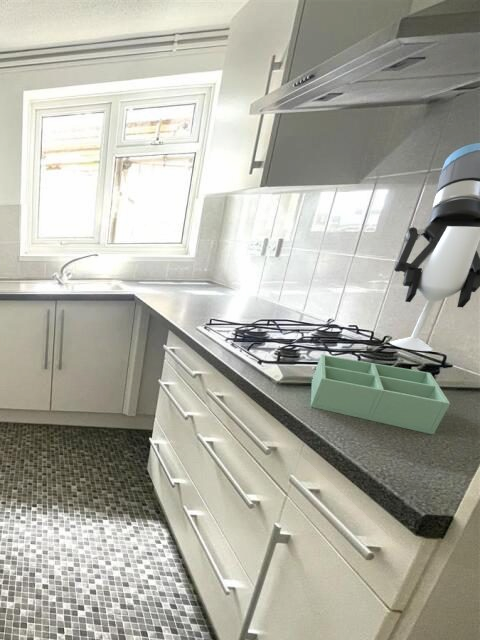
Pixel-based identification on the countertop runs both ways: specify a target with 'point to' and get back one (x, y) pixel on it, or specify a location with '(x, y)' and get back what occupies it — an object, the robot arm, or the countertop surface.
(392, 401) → the divided storage box
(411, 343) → the champagne flute
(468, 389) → the countertop surface
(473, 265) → the robot arm
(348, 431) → the countertop surface
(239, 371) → the countertop surface
